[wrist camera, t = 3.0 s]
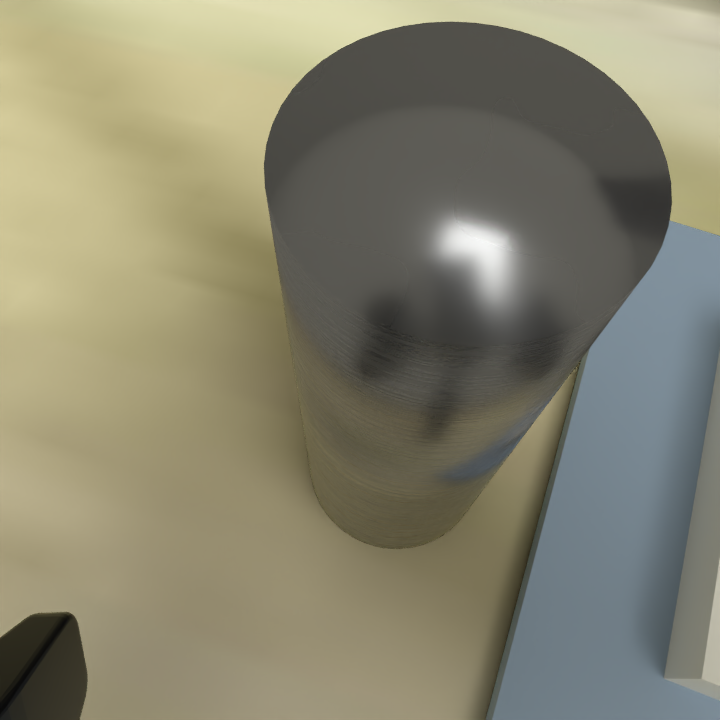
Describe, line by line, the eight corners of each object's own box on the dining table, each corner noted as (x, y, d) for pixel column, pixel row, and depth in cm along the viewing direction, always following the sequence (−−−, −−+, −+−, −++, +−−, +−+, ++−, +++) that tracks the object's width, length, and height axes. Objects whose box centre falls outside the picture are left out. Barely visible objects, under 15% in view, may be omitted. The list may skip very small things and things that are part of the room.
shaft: (351, 578, 19) (366, 414, 7) (284, 421, 21) (207, 83, 9) (509, 505, 20) (757, 251, 8) (431, 361, 22) (538, -16, 10)
